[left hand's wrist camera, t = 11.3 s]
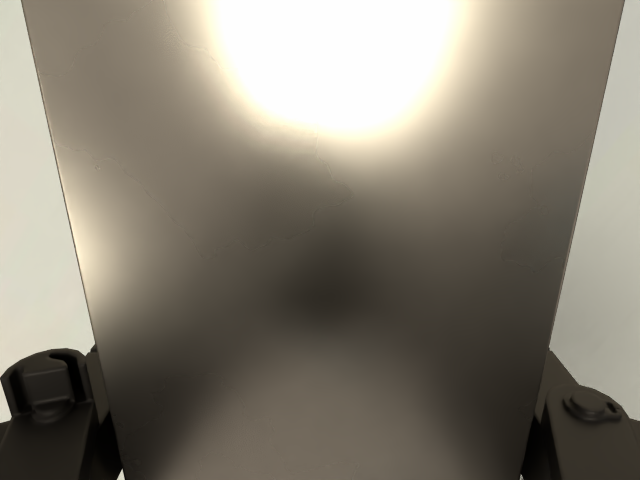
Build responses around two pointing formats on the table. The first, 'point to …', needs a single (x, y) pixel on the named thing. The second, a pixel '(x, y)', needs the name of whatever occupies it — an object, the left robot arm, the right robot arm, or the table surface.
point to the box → (322, 223)
